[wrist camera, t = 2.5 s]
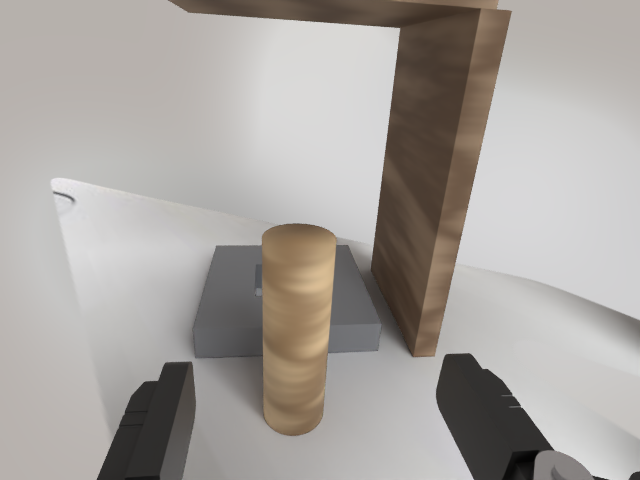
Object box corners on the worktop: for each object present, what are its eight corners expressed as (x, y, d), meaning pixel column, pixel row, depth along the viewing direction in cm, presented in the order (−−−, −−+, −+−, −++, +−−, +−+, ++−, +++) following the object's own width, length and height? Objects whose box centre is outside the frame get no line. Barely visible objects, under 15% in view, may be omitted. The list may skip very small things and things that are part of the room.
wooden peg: (319, 385, 31) (330, 223, 25) (326, 433, 27) (342, 254, 21) (263, 388, 30) (262, 223, 25) (263, 437, 27) (261, 254, 21)
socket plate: (346, 266, 50) (347, 245, 48) (377, 350, 35) (381, 323, 34) (217, 267, 48) (216, 245, 46) (195, 358, 33) (192, 329, 32)
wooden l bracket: (386, 269, 49) (422, 11, 38) (434, 356, 35) (518, -19, 23) (208, 271, 47) (187, -7, 35) (181, 366, 32) (129, -55, 20)
